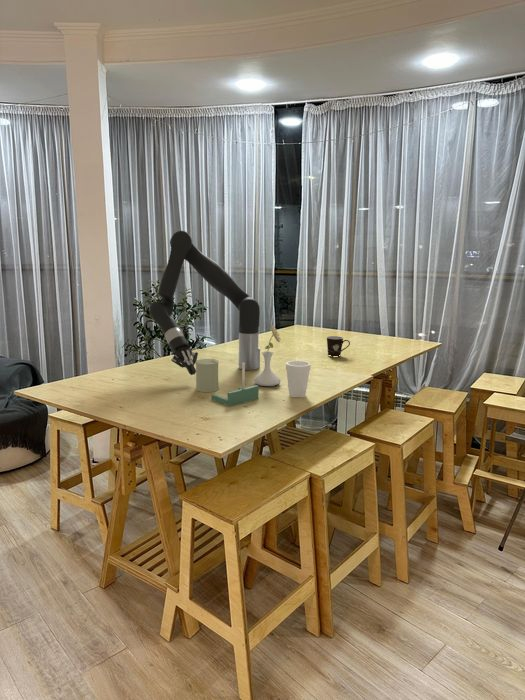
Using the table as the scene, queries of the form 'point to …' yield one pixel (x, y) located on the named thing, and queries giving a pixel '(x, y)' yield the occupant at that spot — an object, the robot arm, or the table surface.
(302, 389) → the foam cup
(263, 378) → the flower in vase
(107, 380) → the table surface
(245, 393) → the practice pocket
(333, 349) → the coffee mug
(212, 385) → the can
